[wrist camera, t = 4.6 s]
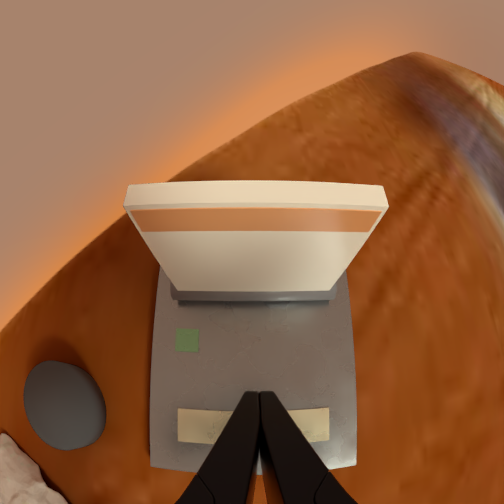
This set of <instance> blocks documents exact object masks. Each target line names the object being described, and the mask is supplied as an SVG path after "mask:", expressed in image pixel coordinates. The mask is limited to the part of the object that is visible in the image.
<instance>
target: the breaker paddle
mask: <svg viewBox="0 0 504 504" xmlns="http://www.w3.org/2000/svg"><path fill="white" fill-rule="evenodd" d="M123 207H124V208H125V210H126V212H127V213H128V215H129V217H130V218H131V220H132V222H133V223H134V225H135V227H136V228H137V230H138V231H139V233H140V235H141V236H142V238H143V239H144V241H145V242H146V244H147V246H148V247H149V249H150V250H151V252H152V253H153V255H154V256H155V258H156V259H157V261H158V262H159V264H160V265H161V267H162V268H163V270H164V271H165V273H166V274H167V276H168V277H169V279H170V280H171V283H170V292H171V297H172V299H173V300H190V301H312V300H334V299H335V296H336V290H337V284H336V281H337V280H338V278H339V277H340V276H341V274H342V273H343V272H344V270H345V269H346V268H347V266H348V265H349V264H350V262H351V261H352V259H353V258H354V257H355V255H356V254H357V253H358V251H359V250H360V248H361V247H362V246H363V244H364V243H365V241H366V240H367V238H368V237H369V235H370V234H371V233H372V231H373V230H374V228H375V227H376V225H377V224H378V222H379V221H380V219H381V218H382V216H383V215H384V213H385V212H386V210H387V209H388V207H389V206H388V202H387V199H386V195H385V192H384V189H383V186H376V185H362V184H347V183H329V182H305V181H252V180H243V181H190V182H166V183H148V184H134V185H128V189H127V193H126V196H125V200H124V203H123Z"/></svg>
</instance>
